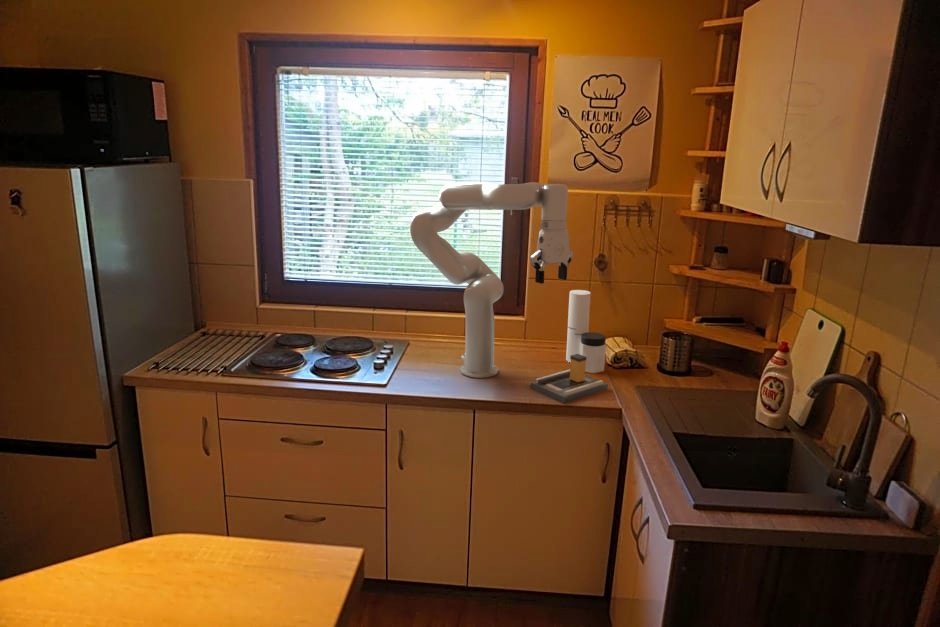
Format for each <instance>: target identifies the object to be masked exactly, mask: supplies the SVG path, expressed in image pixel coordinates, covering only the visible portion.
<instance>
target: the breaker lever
mask: <svg viewBox="0 0 940 627" xmlns="http://www.w3.org/2000/svg"><path fill="white" fill-rule="evenodd" d="M570 359H571V363H569V364H570V366H569V369H570V379H571V380H573V381H576V382H581V381H584V380H585V375H586V372H585V366H586V357H585V356H582V355H580V354H575V355H571V356H570Z"/></svg>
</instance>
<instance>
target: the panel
mask: <svg viewBox="0 0 940 627" xmlns="http://www.w3.org/2000/svg"><path fill="white" fill-rule="evenodd" d="M596 381H599V379H597V378H595V377H592V376H589V375H586V374H585V380H584V381H581V382H576V381H573V380H571V379H570V376H566V377H563V378H559V379H556V380H552V381H549V382H546V383H542V384H539V383H537V382H536V380H534V381H530V383H529V384H530V385H529V386H530V387H529V388H530V389H531V390H533V391H536V392H538V393H540V394H542V395H545V397H546V396H547V397H548V398H551V399H554V400H555V401H558V402H559V403H562V404H565V405H566V404H568V403H571V402H573V401H577V400H579V399H583V398H586V397H589V396H592V395H596V394H598V393H601V392H605V391H607V390H609V389H608V388H609V383H608V382H605V381H603V384H602V385H598V386H595V387H592V388H589V389H586V390H582V391H579V392H576V393H573V394H570V395H564V391H567V390H570V389H574V388H577V387H580V386H583V385H586V384H590V383H593V382H596Z"/></svg>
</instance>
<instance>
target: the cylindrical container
mask: <svg viewBox="0 0 940 627" xmlns="http://www.w3.org/2000/svg"><path fill="white" fill-rule="evenodd" d="M590 307H591V291H589V290H584V289H572V290H570V291H569V297H568V314H567V316H568V318H567V331H566V332H567V338H566V354H565V361H566V360H567V361H568V362H567V361H566V362H567V363H569V362H570V363H569V364H571V359H570V356H571V355H575V354H579V350H580V341H581V335H582V334H583V333H587V332H589V323H590V310H591V309H590Z"/></svg>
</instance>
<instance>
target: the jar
mask: <svg viewBox="0 0 940 627" xmlns="http://www.w3.org/2000/svg"><path fill="white" fill-rule="evenodd" d="M606 349H607V345H606V335H605V334H603V333H601V332H600V333H599V332H592V331H588V332H587V333H583V334H582V335H581V341H580V350H579V354H580V355H582V356H585V357H586V366H585V373H589V374H597V373H601V372H604V371H605V363H606V351H607V350H606Z"/></svg>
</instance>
